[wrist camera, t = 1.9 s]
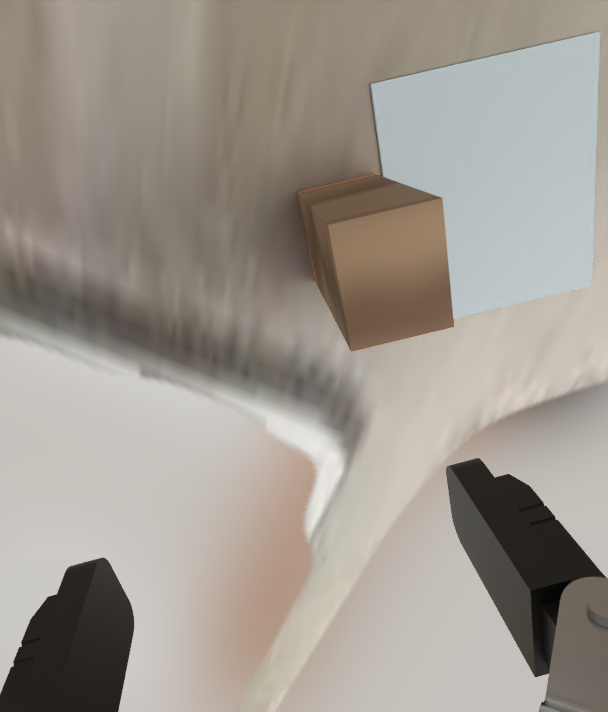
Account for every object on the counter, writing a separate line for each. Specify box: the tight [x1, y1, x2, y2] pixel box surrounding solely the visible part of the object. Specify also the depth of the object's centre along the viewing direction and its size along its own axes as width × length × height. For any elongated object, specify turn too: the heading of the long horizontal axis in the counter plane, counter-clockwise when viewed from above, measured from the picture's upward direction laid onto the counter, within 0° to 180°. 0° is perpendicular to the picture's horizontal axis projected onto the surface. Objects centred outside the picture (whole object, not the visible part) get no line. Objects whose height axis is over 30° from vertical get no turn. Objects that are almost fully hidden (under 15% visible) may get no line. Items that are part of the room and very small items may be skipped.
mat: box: [370, 32, 600, 319], centre depth 34 cm, size 16×14×1 cm
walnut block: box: [297, 173, 454, 351], centre depth 29 cm, size 6×5×12 cm
